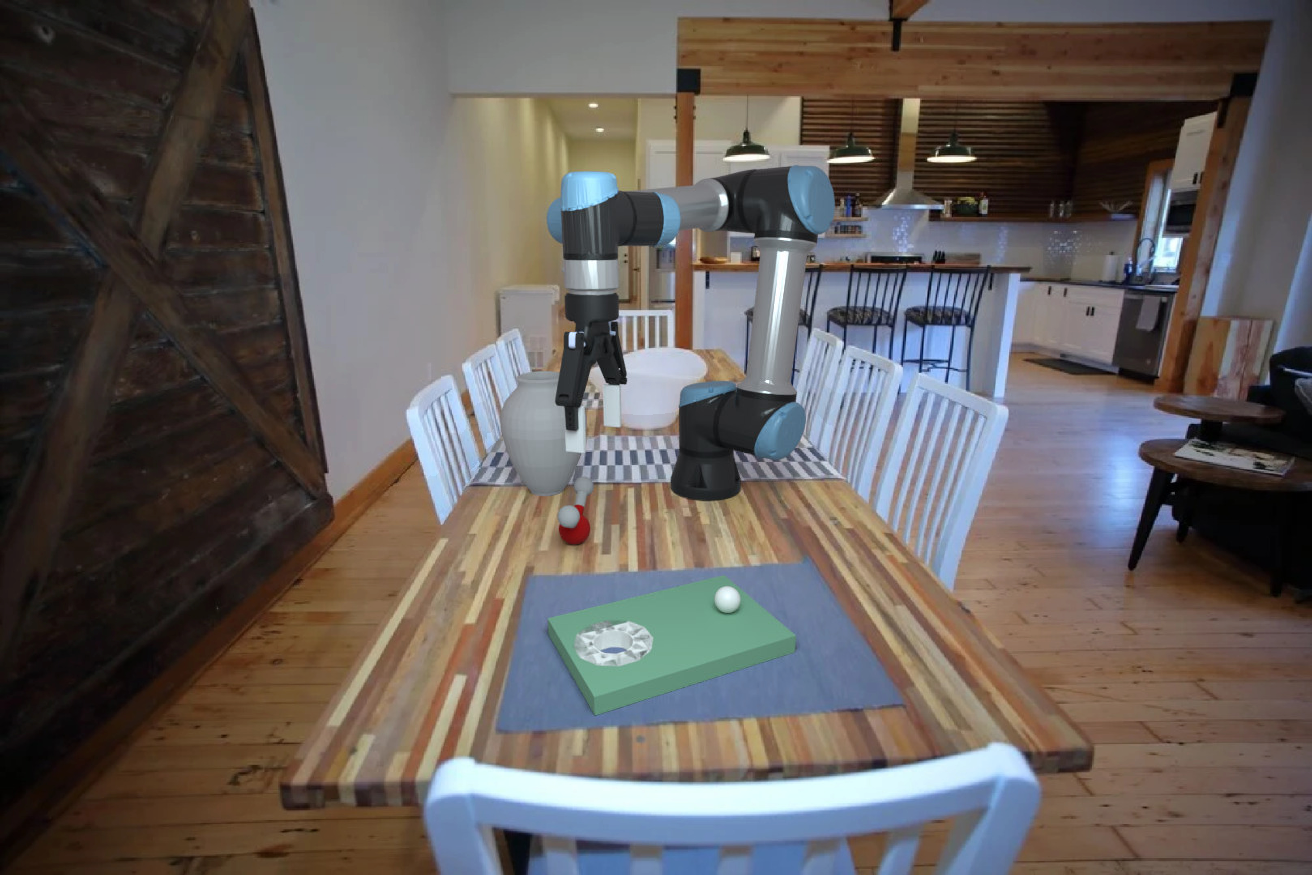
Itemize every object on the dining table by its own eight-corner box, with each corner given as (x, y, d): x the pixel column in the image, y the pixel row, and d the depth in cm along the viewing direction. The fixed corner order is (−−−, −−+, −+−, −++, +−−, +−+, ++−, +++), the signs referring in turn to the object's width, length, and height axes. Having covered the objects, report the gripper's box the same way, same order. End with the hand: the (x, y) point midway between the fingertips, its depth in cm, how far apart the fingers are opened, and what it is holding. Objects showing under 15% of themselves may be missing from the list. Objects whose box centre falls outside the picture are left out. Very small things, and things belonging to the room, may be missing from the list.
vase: (489, 488, 145) (480, 375, 137) (558, 470, 156) (553, 364, 149) (534, 513, 132) (527, 389, 125) (605, 490, 143) (602, 376, 136)
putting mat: (723, 589, 104) (724, 574, 103) (794, 652, 88) (796, 635, 87) (548, 634, 92) (547, 618, 91) (594, 715, 76) (594, 697, 76)
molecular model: (581, 566, 111) (579, 510, 108) (548, 565, 111) (545, 509, 108) (598, 523, 127) (597, 473, 125) (569, 522, 128) (567, 472, 125)
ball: (731, 601, 95) (732, 579, 94) (745, 614, 92) (746, 591, 91) (709, 607, 94) (709, 584, 93) (722, 620, 91) (723, 596, 90)
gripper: (601, 284, 105) (604, 415, 112) (522, 298, 83) (532, 461, 89) (646, 285, 103) (647, 418, 109) (578, 300, 80) (583, 467, 87)
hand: (595, 438), depth 99 cm, fingers open, 13 cm apart
